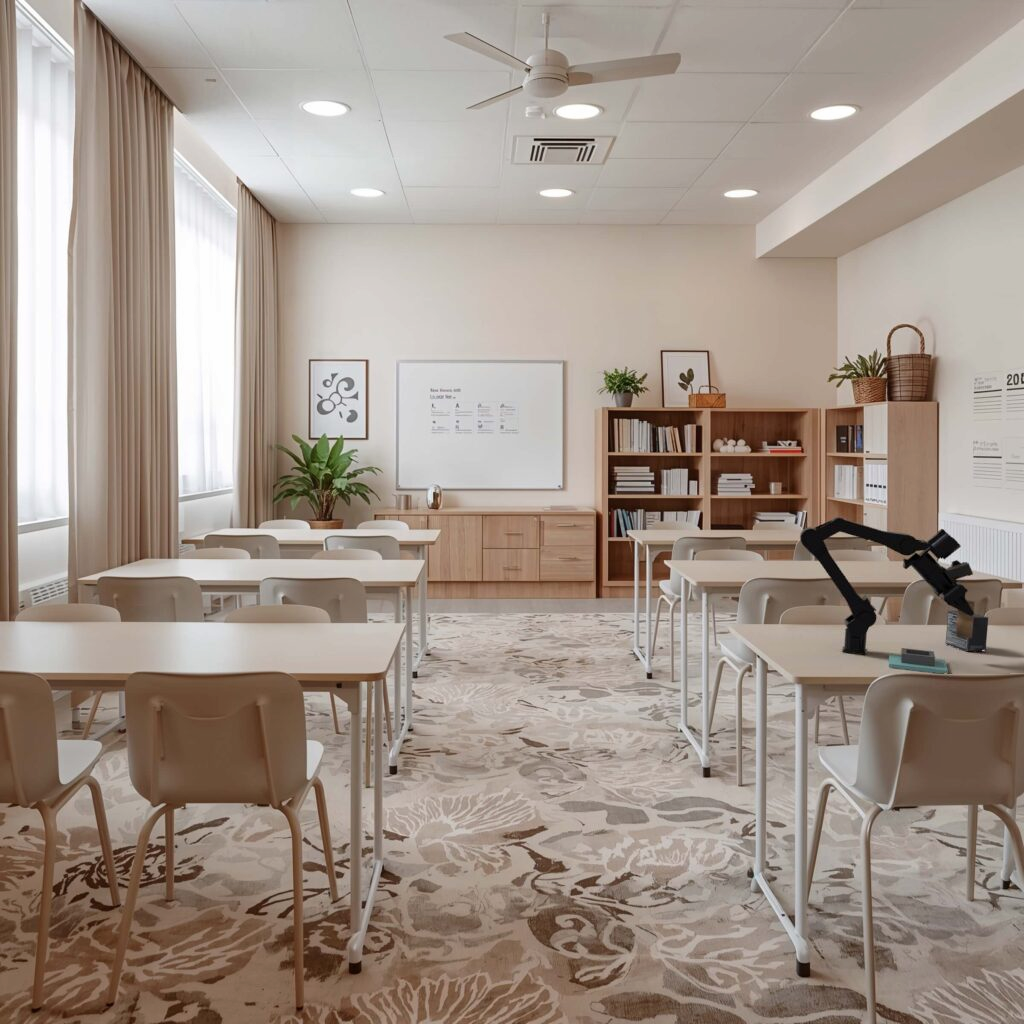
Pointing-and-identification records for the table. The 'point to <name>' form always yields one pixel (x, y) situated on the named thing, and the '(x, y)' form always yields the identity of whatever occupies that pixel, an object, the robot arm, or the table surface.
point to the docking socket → (917, 661)
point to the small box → (977, 633)
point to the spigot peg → (965, 622)
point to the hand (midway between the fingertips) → (971, 613)
